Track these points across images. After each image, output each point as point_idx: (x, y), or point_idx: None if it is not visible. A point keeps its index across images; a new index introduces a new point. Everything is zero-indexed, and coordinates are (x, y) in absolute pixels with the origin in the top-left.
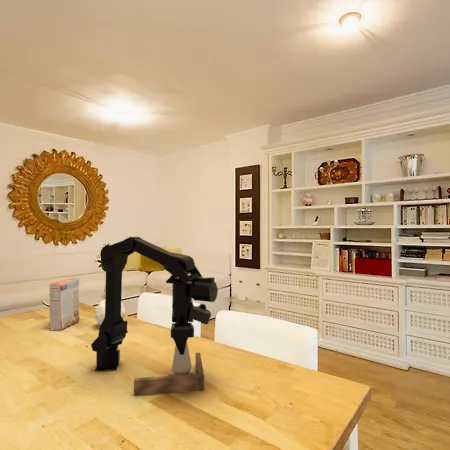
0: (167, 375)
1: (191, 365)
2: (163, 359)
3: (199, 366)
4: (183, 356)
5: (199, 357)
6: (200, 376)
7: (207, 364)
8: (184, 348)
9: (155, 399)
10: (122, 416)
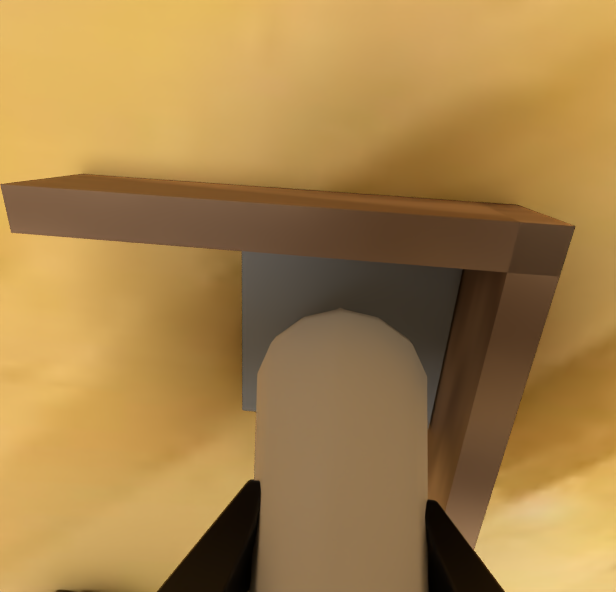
0: (254, 410)
1: (343, 319)
2: (5, 407)
3: (345, 239)
4: (426, 480)
5: (129, 208)
6: (562, 260)
7: (74, 106)
8: (494, 587)
9: (504, 475)
10: (594, 588)
